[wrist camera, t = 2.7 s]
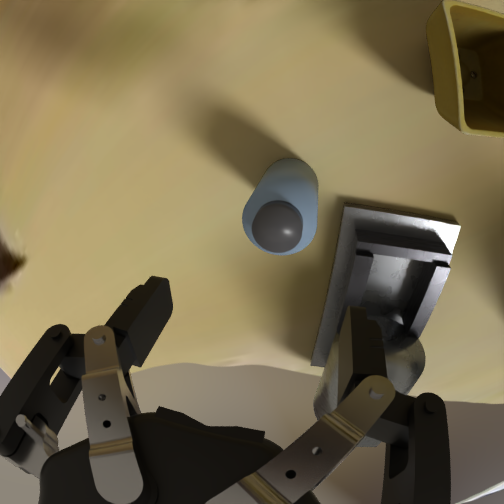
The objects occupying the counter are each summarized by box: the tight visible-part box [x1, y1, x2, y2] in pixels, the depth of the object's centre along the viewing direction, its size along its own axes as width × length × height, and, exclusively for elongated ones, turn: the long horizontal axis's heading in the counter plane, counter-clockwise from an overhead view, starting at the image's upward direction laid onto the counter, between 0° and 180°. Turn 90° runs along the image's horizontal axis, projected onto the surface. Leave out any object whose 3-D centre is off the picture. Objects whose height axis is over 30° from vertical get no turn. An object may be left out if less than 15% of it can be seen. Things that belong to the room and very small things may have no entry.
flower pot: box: [426, 0, 504, 138], centre depth 14 cm, size 9×9×9 cm
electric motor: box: [310, 202, 461, 447], centre depth 26 cm, size 24×12×13 cm, turn 179°
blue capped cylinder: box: [242, 158, 318, 255], centre depth 23 cm, size 5×5×9 cm
